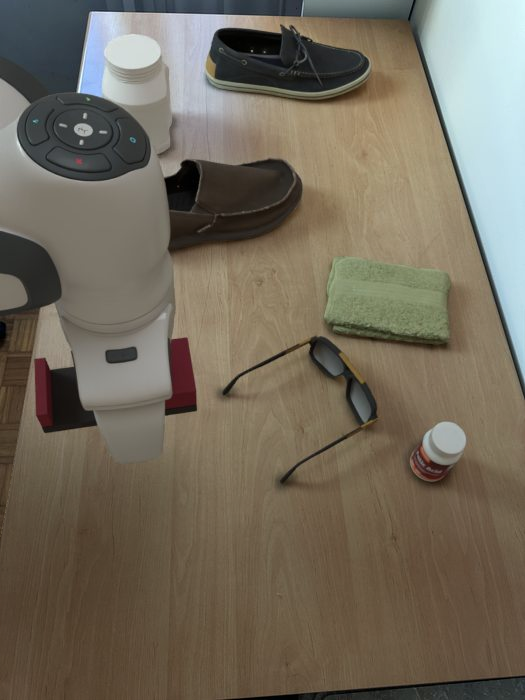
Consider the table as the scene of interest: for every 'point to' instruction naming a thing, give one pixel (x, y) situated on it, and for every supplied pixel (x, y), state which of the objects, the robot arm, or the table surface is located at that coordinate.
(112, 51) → the jar
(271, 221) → the loafer
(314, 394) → the table surface
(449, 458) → the pill bottle
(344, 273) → the washcloth
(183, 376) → the red and black block
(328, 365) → the sunglasses
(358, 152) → the table surface
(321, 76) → the boat shoe
